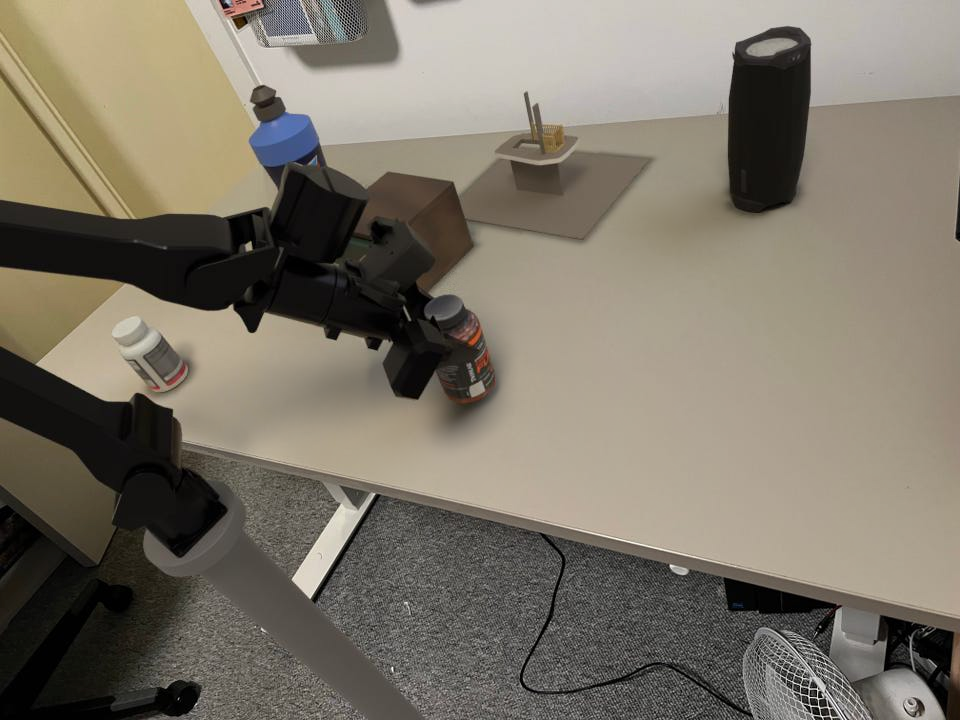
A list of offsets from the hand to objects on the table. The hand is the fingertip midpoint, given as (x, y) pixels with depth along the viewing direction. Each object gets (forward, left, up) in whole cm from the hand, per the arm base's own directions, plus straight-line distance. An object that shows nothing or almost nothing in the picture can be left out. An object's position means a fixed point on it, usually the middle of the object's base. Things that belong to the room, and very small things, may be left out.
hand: (467, 336), depth 65 cm
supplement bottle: (-1, +1, -7) cm, 7 cm away
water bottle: (+16, +44, -8) cm, 47 cm away
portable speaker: (+43, -14, -8) cm, 46 cm away
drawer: (+11, +25, -7) cm, 28 cm away
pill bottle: (-17, +43, -8) cm, 47 cm away
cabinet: (+15, +25, -8) cm, 30 cm away
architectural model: (+38, +17, -8) cm, 42 cm away
